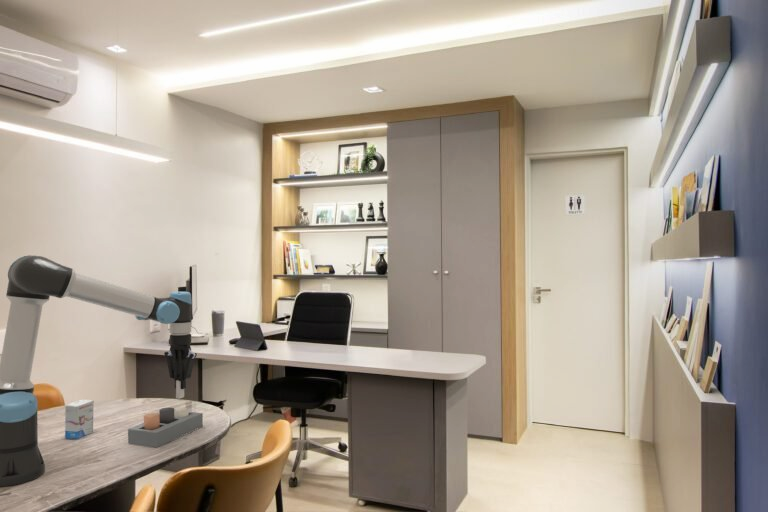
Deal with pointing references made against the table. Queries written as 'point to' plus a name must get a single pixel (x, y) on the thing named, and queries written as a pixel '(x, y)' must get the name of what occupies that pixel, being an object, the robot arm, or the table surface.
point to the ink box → (79, 419)
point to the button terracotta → (151, 421)
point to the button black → (166, 415)
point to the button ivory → (181, 412)
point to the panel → (164, 431)
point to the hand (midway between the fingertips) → (180, 397)
